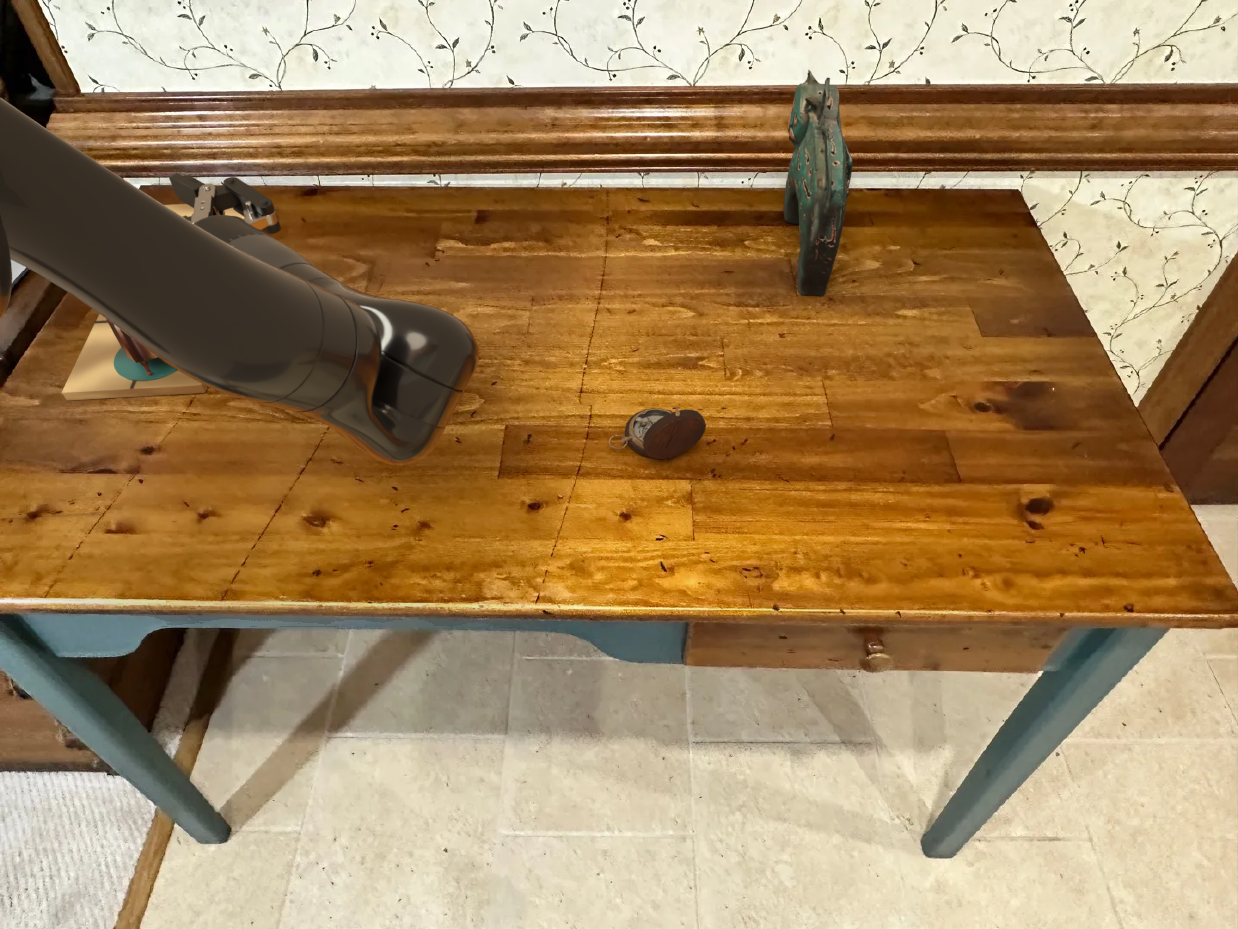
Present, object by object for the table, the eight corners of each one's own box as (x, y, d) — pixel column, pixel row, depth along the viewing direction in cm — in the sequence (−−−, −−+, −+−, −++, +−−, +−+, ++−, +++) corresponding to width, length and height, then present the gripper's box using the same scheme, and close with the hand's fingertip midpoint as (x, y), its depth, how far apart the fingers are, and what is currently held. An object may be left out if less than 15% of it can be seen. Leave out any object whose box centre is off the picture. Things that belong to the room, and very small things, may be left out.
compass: (670, 406, 89) (673, 352, 84) (704, 461, 84) (710, 407, 79) (597, 428, 87) (595, 375, 82) (628, 485, 82) (628, 432, 77)
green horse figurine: (773, 202, 113) (796, 45, 98) (823, 203, 113) (854, 45, 98) (786, 299, 100) (814, 135, 85) (843, 301, 100) (881, 136, 85)
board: (205, 393, 91) (200, 383, 90) (66, 401, 90) (59, 391, 89) (266, 208, 113) (263, 198, 112) (155, 213, 112) (150, 203, 111)
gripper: (317, 197, 65) (189, 128, 71) (142, 292, 57) (18, 205, 64) (341, 280, 70) (221, 209, 77) (186, 376, 63) (67, 289, 70)
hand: (129, 207), depth 70 cm, fingers open, 8 cm apart
